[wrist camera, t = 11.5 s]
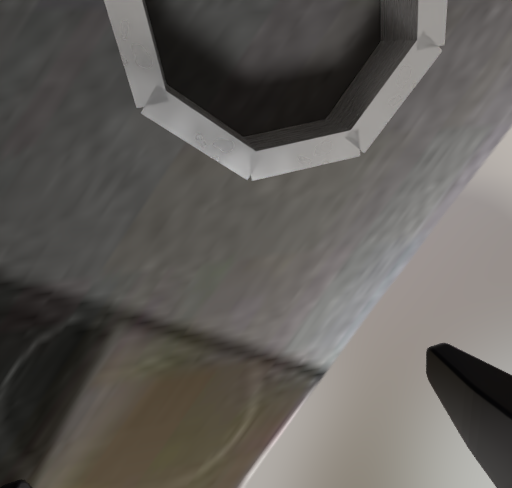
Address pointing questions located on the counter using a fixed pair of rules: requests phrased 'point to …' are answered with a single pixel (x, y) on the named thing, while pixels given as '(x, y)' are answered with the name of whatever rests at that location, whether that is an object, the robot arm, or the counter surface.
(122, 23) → the white octagonal ring
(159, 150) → the counter surface
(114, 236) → the counter surface
